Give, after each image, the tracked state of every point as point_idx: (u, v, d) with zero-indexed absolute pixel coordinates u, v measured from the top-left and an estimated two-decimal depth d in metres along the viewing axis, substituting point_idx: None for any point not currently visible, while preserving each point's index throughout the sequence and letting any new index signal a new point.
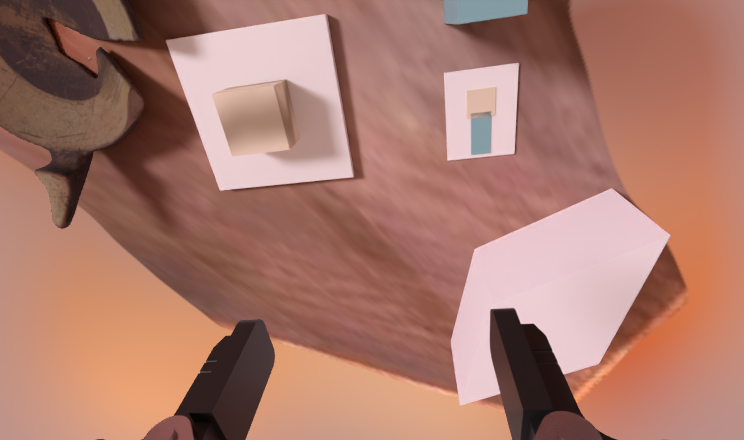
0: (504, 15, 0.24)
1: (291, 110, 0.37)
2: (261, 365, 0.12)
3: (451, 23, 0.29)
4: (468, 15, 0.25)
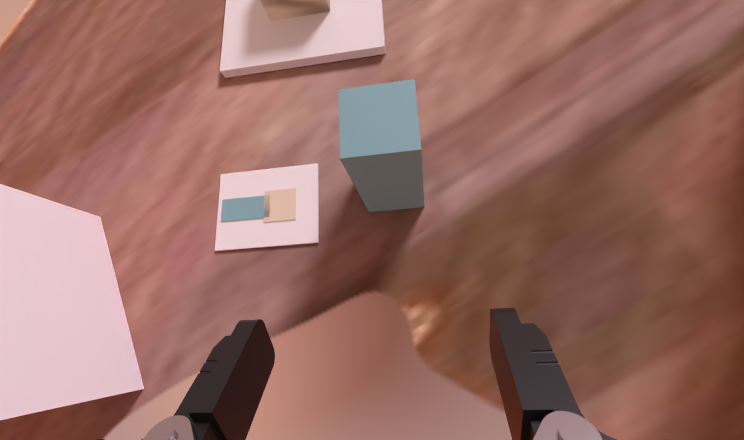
0: (341, 134, 0.21)
1: (298, 9, 0.34)
2: (261, 365, 0.12)
3: None
4: (345, 98, 0.21)
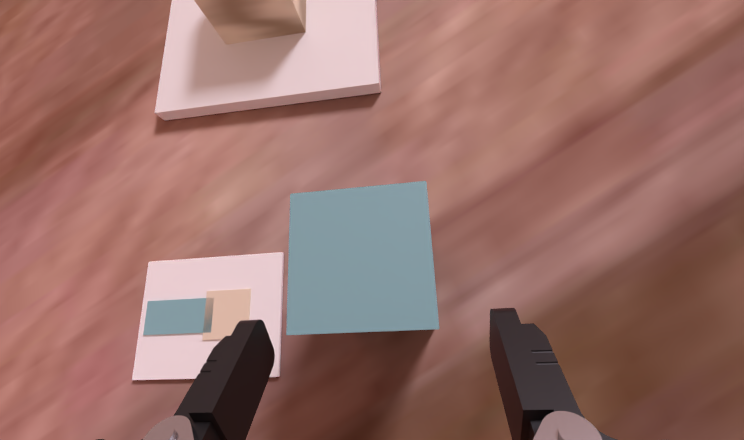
0: (291, 285, 0.11)
1: (261, 29, 0.25)
2: (261, 365, 0.13)
3: None
4: (302, 212, 0.12)
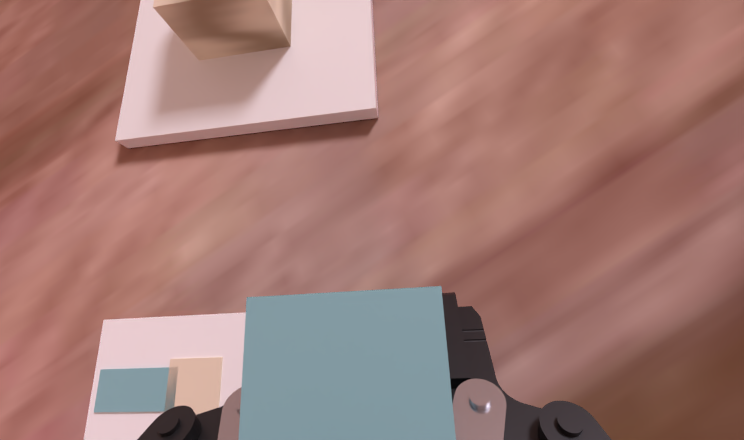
0: None
1: (239, 43, 0.22)
2: None
3: None
4: (262, 327, 0.08)
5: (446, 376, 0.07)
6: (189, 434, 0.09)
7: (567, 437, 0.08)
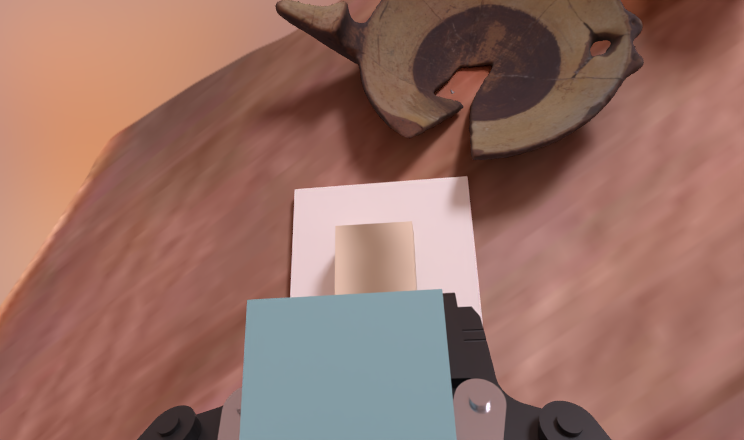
0: None
1: None
2: None
3: None
4: (263, 330, 0.08)
5: (447, 379, 0.07)
6: (189, 434, 0.09)
7: (567, 437, 0.08)
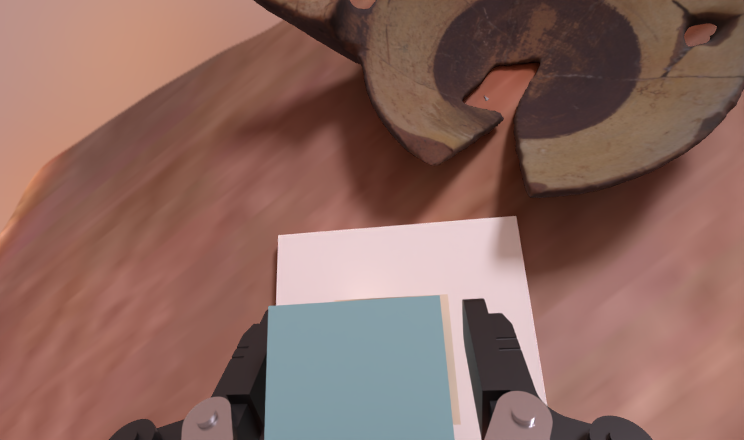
0: (268, 434, 0.09)
1: None
2: None
3: None
4: (283, 332, 0.09)
5: (444, 373, 0.09)
6: None
7: None
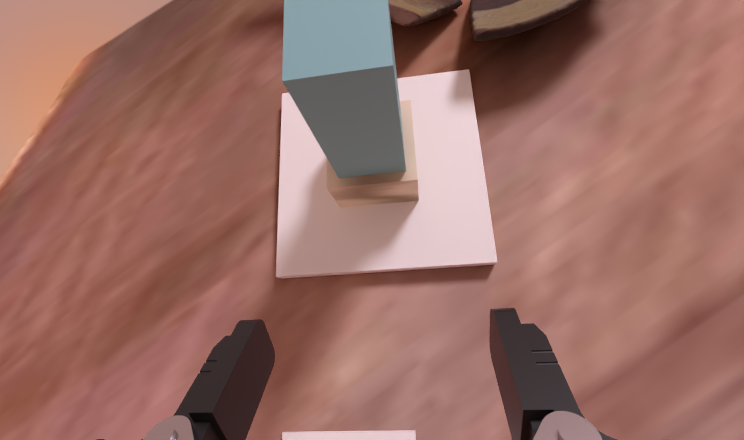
0: (285, 51, 0.15)
1: (379, 200, 0.27)
2: (261, 365, 0.13)
3: None
4: (293, 5, 0.16)
5: (386, 12, 0.15)
6: None
7: None
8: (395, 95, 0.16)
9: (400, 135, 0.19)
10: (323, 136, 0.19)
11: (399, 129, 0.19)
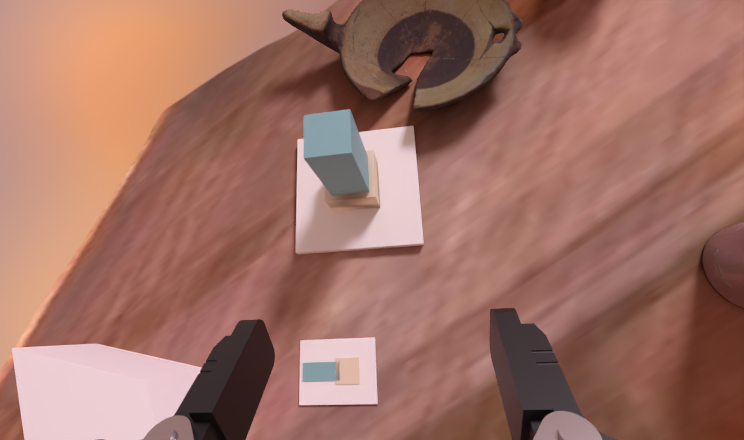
0: (304, 143, 0.34)
1: (356, 207, 0.45)
2: (261, 365, 0.13)
3: None
4: (308, 121, 0.34)
5: (350, 126, 0.33)
6: None
7: None
8: (355, 161, 0.34)
9: (361, 176, 0.38)
10: (322, 177, 0.37)
11: (360, 173, 0.37)
